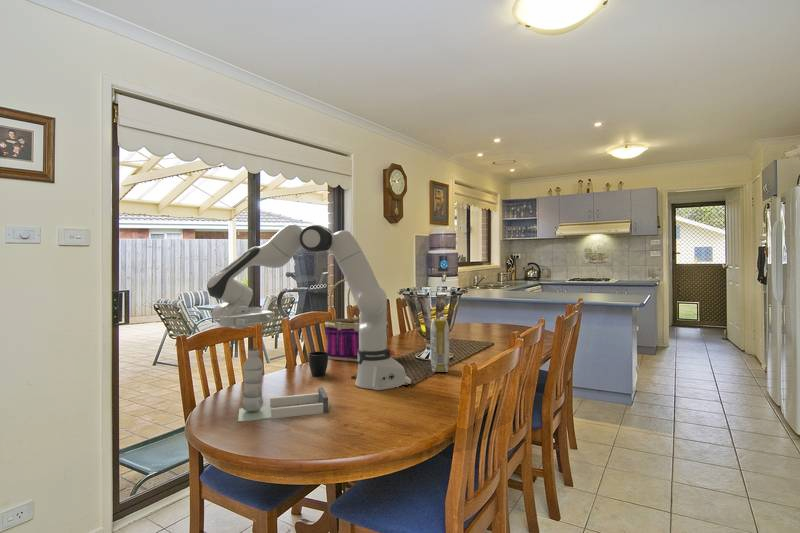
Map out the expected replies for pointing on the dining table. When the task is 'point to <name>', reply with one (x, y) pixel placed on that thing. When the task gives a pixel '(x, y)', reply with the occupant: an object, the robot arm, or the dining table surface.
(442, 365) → the juice carton
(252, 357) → the plastic bottle
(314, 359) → the mug
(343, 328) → the basket
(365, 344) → the robot arm
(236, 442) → the dining table surface
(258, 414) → the pad
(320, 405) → the channel
